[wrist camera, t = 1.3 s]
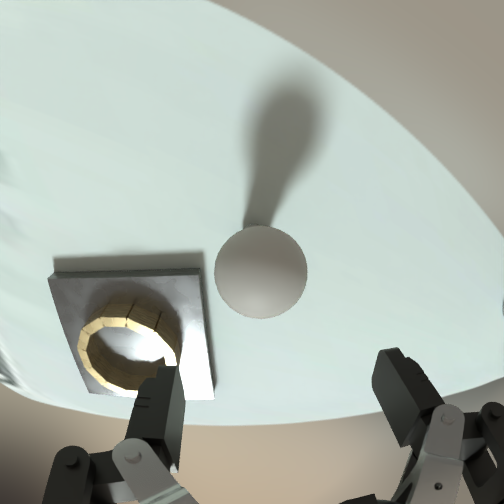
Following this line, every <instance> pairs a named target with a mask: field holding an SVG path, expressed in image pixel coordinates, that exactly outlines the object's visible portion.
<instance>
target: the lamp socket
mask: <svg viewBox="0 0 504 504" xmlns="http://www.w3.org/2000/svg"><path fill="white" fill-rule="evenodd" d="M48 283H49V286H50V290H51V293H52V297H53V300H54V303H55V306H56V309H57V313H58V316H59V319H60V322H61V324H62V327H63V330H64V333H65V336H66V338H67V341H68V344H69V346H70V349H71V352H72V354H73V357H74V359H75V362H76V364H77V366H78V369H79V371H80V373H81V376H82V378H83V380H84V383H85V385H86V387H87V389H88V391H89V393H93V394H102V395H112V396H124V397H136V396H137V392H138V389H139V386H140V385H141V384H142V383H143V381H144V380H145V379H146V378H156V374H157V370H158V367H159V365H178V366H179V369H180V373H181V378H182V383H183V387H184V391H185V399H188V400H210V399H214V384H213V377H212V369H211V362H210V354H209V346H208V338H207V330H206V321H205V312H204V303H203V294H202V284H201V274H200V268H193V269H165V270H134V271H100V272H59V273H53V274H52V275H51V276H50V277H49V278H48Z"/></svg>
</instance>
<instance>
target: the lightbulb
mask: <svg viewBox="0 0 504 504" xmlns="http://www.w3.org/2000/svg"><path fill="white" fill-rule="evenodd" d="M214 276H215V283H216V286H217V289H218V291H219V294H220V295H221V297H222V299H223V300H224V301H225V302H226V303H227V305H228V306H229V307H230V308H231V309H233V310H234V311H236V312H237V313H239V314H241V315H243V316H246V317H250V318H257V319H266V318H272V317H276V316H278V315H280V314H282V313H284V312H286V311H287V310H289V309H290V308H291V307H292V306H294V305H295V304H296V303H297V301H298V300H299V298H300V297H301V295H302V293H303V291H304V289H305V286H306V281H307V263H306V258H305V256H304V254H303V251H302V249H301V248H300V246H299V245H298V244H297V242H296V241H295V240H294V239H293V238H292V237H291V236H289V235H288V234H286V233H285V232H283V231H281V230H279V229H276V228H273V227H268V226H261V225H258V224H251V225H248V226H246V227H245V228H244V229H243V230H241V231H239V232H237V233H236V234H234V235H233V236H232V237H230V238H229V239H228V240H227V242H226V243H225V244H224V245H223V246H222V248H221V249H220V251H219V253H218V255H217V258H216V261H215V270H214Z"/></svg>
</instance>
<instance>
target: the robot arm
mask: <svg viewBox="0 0 504 504" xmlns="http://www.w3.org/2000/svg"><path fill="white" fill-rule="evenodd" d="M503 315H504V303H503ZM372 388H373V391H374V393H375V395H376V397H377V399H378V401H379V403H380V405H381V407H382V409H383V411H384V414H385V416H386V418H387V420H388V422H389V424H390V426H391V428H392V430H393V432H394V435H395V437H396V439H397V441H398V443H399V445H400V447H405V446H408V445H410V446H411V448H412V450H411V452H410V454H409V457H408V460H407V463H406V466H405V469H404V472H403V475H402V477H401V480H400V483H399V485H398V488H397V490H396V492H395V493H394V495H393V497H392V498H391V500H390V501H387V500H376V497H375V494H370V495H367V496H363V497H359V498H355V499H350V500H346V501H344V502H342V503H340V504H455V501H456V497H457V493H458V489H459V485H460V480H461V475H462V474H463V477H464V480H465V482H466V484H467V486H468V489H469V491H470V493H471V496H472V498H473V500H474V503H475V504H504V406H503V405H501V404H500V403H497V402H488V403H486V404H485V405H484V406H483V407H482V409H481V410H480V412H471V413H463V412H462V411H461V410H460V409H459V408H458V407H456V406H454V405H451V404H445V403H444V401H443V400H442V398H441V396H440V395H439V393H438V392H437V390H436V389H435V387H434V386H433V384H432V383H431V382H430V380H428V377H427V376H426V374H424V371H423V370H422V368H421V367H420V366H419V364H418V363H417V362H415V361H414V360H412V359H411V358H410V357H407V358H405V357H404V355H403V354H402V352H401V351H400V349H399V348H397V347H396V348H390V349H384V350H380V351H379V353H378V356H377V360H376V364H375V368H374V371H373V375H372ZM184 413H185V391H184V387H183V383H182V378H181V373H180V369H179V366H178V365H159V367H158V370H157V374H156V378H146V379H145V380H144V381H143V383H142V384H141V385H140V386H139V389H138V392H137V396H136V399H135V403H134V407H133V410H132V414H131V417H130V421H129V425H128V429H127V433H126V436H125V439H124V440H123V441H121V442H120V443H118V444H117V445H116V446H115V447H114V449H113V450H110V451H106V452H100V453H92V454H88V453H87V452H86V451H85V450H84V449H83V448H81V447H78V446H68V447H65V448H63V449H61V450H60V451H59V452H58V453H57V454H56V456H55V459H54V462H53V465H52V468H51V472H50V475H49V479H48V482H47V486H46V490H45V494H44V498H43V501H42V504H117V503H120V502H127V501H134V500H138V502H139V503H140V504H199V503H198V502H197V501H196V500H195V499H194V498H193V497H192V496H191V494H190V493H189V492H188V491H187V490H186V489H185V488H184V487H181V486H180V485H179V483H178V482H177V481H176V480H175V479H174V477H173V476H172V475H171V474H170V472H173V473H178V469H179V459H180V449H181V440H182V430H183V422H184ZM487 448H489V449H490V450H491V452H492V454H493V456H494V458H495V460H496V462H497V468H496V466H495V464H494V462H493V460H492V459H491V457H490V455H489V453H488V451H487Z"/></svg>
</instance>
